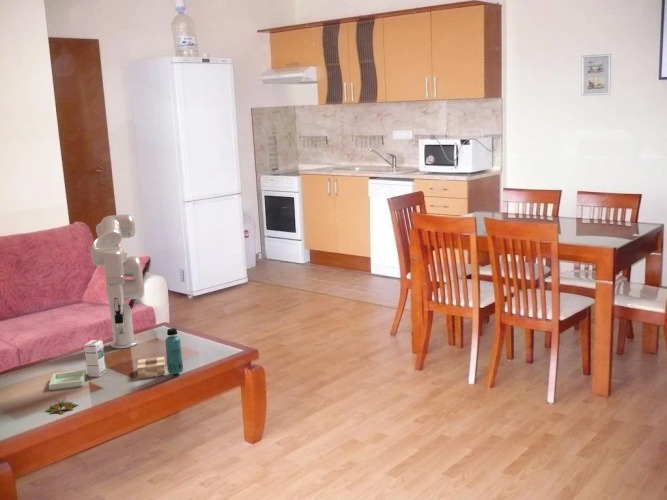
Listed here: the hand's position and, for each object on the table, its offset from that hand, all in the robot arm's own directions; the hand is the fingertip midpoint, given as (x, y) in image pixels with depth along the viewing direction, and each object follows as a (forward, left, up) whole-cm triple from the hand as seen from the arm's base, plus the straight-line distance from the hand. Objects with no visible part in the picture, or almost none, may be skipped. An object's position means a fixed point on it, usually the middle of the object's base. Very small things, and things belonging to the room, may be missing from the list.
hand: (119, 321), depth 293 cm
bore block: (+3, +11, -23) cm, 26 cm away
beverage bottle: (+9, +21, -23) cm, 33 cm away
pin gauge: (0, 0, -5) cm, 5 cm away
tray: (+3, -23, -23) cm, 33 cm away
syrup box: (-3, -12, -23) cm, 26 cm away
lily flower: (+30, -22, -24) cm, 44 cm away
